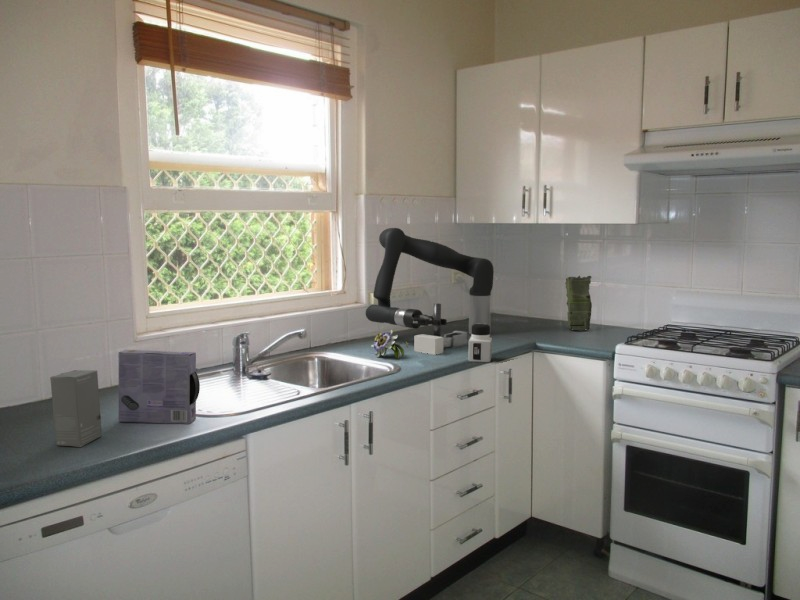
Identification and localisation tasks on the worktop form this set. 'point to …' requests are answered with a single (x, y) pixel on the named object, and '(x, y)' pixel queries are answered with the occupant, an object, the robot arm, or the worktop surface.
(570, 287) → the pouch
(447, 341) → the tube
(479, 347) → the container
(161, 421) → the cake pan box
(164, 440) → the worktop surface
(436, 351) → the socket block
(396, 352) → the passion flower
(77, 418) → the skincare box
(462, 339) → the sleeve
